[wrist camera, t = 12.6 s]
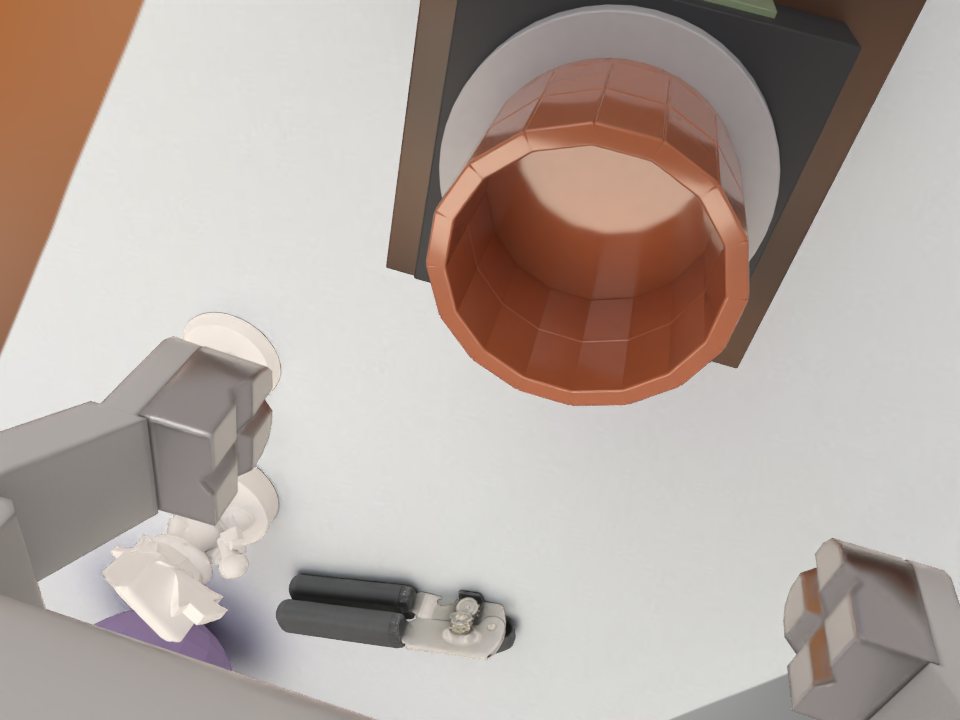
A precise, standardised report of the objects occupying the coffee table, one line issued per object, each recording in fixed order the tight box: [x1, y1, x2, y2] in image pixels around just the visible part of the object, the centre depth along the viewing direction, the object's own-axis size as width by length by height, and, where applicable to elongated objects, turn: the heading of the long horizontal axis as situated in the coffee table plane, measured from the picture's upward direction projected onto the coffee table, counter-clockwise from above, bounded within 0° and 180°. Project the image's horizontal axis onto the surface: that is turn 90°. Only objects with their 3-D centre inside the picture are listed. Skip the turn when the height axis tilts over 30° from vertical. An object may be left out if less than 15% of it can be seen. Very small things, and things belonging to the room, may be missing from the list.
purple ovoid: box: [94, 610, 232, 671], centre depth 66 cm, size 17×17×20 cm
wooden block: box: [386, 0, 926, 368], centre depth 28 cm, size 12×12×16 cm
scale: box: [414, 0, 862, 363], centre depth 20 cm, size 9×9×3 cm
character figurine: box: [103, 466, 279, 642], centre depth 56 cm, size 9×10×12 cm
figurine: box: [183, 313, 281, 392], centre depth 47 cm, size 7×7×12 cm
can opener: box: [276, 575, 516, 660], centre depth 62 cm, size 19×6×5 cm, turn 94°
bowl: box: [426, 58, 749, 406], centre depth 17 cm, size 6×6×4 cm
